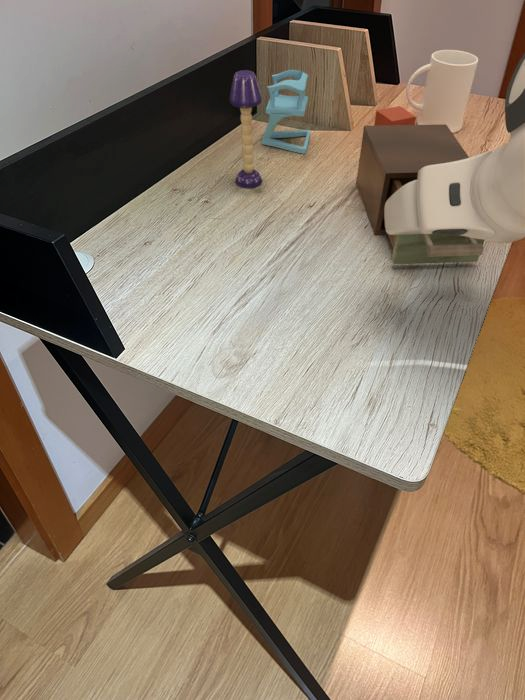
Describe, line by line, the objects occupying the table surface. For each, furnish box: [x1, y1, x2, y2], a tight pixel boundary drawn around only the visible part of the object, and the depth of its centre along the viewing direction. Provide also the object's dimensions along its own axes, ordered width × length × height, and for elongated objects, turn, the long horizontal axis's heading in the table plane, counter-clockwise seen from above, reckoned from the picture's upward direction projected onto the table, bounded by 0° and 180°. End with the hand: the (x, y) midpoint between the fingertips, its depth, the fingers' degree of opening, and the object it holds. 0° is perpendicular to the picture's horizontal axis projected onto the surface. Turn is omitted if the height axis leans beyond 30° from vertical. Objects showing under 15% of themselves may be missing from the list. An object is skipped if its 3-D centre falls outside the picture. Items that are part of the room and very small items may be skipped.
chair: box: [261, 69, 311, 155], centre depth 98 cm, size 8×8×12 cm
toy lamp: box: [229, 69, 263, 189], centre depth 86 cm, size 5×5×17 cm
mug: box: [405, 49, 479, 134], centre depth 105 cm, size 12×8×12 cm
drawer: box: [382, 178, 485, 265], centre depth 76 cm, size 18×11×8 cm, turn 4°
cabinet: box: [355, 124, 470, 236], centre depth 84 cm, size 15×13×10 cm
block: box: [373, 105, 417, 126], centre depth 102 cm, size 5×5×5 cm
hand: (453, 226), depth 70 cm, fingers closed
